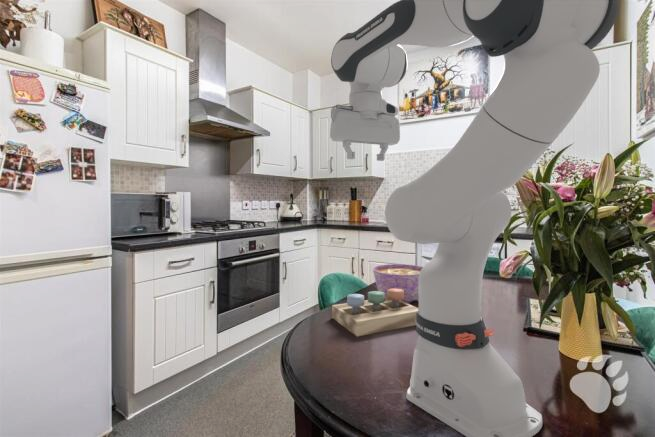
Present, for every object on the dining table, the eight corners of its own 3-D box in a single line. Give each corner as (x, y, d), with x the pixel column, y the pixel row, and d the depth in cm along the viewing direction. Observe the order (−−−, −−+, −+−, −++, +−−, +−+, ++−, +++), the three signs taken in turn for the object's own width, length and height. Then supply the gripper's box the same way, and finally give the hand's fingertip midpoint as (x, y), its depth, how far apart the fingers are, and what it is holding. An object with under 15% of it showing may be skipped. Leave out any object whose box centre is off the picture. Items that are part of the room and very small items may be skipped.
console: (423, 323, 96) (423, 310, 96) (357, 336, 88) (356, 321, 88) (391, 308, 111) (391, 296, 111) (332, 317, 102) (332, 305, 102)
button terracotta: (407, 310, 101) (407, 291, 101) (393, 312, 99) (393, 293, 99) (397, 305, 105) (397, 287, 105) (384, 308, 103) (384, 289, 103)
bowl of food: (409, 291, 132) (409, 262, 132) (441, 305, 113) (441, 272, 113) (363, 296, 126) (363, 266, 126) (389, 312, 107) (389, 276, 107)
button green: (387, 313, 98) (387, 294, 98) (373, 316, 96) (373, 296, 96) (378, 309, 103) (378, 290, 102) (364, 311, 101) (364, 292, 100)
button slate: (367, 317, 95) (367, 297, 95) (352, 319, 93) (352, 299, 93) (359, 312, 100) (358, 293, 100) (344, 314, 98) (344, 295, 98)
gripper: (336, 99, 81) (337, 156, 82) (403, 109, 90) (403, 159, 90) (325, 106, 87) (326, 159, 88) (389, 114, 96) (389, 162, 96)
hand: (366, 159), depth 89 cm, fingers open, 8 cm apart
